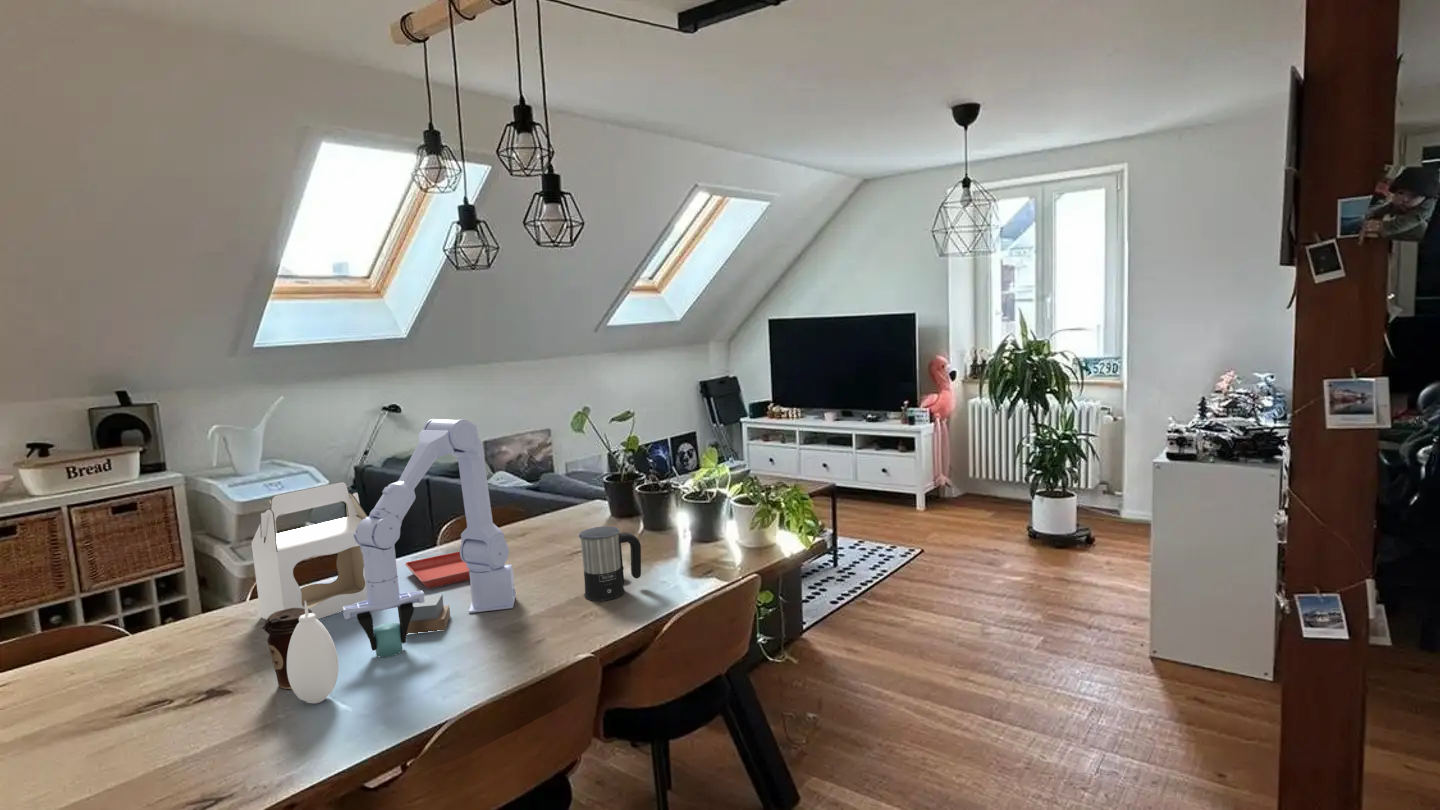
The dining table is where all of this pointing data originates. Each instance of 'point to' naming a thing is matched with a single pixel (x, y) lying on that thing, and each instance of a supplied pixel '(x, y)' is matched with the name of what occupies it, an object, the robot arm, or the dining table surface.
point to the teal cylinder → (388, 639)
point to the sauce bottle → (311, 660)
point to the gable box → (309, 554)
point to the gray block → (428, 608)
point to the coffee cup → (282, 639)
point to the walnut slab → (430, 623)
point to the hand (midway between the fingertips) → (388, 645)
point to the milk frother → (607, 561)
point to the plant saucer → (440, 570)
